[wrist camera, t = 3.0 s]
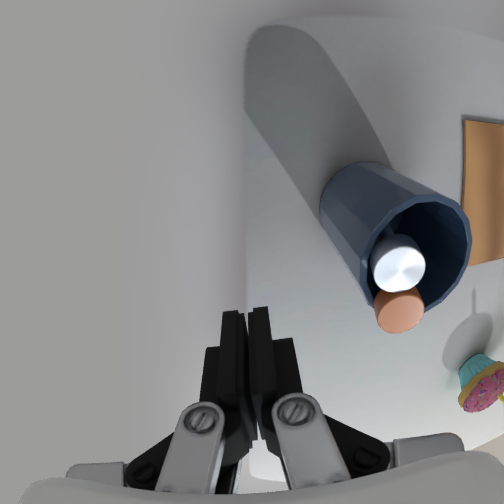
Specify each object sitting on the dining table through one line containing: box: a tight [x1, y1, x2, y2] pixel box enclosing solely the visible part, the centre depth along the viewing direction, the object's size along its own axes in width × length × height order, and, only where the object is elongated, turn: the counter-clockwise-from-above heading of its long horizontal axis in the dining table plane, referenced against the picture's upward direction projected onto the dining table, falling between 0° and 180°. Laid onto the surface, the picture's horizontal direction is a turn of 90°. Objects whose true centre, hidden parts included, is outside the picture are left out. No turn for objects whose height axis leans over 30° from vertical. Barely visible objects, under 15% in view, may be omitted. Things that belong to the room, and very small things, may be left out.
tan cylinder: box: [370, 238, 424, 333], centre depth 18 cm, size 3×3×10 cm
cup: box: [320, 162, 472, 313], centre depth 18 cm, size 7×7×9 cm
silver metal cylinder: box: [370, 223, 426, 293], centre depth 17 cm, size 3×3×10 cm
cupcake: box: [458, 354, 504, 413], centre depth 27 cm, size 9×8×12 cm
